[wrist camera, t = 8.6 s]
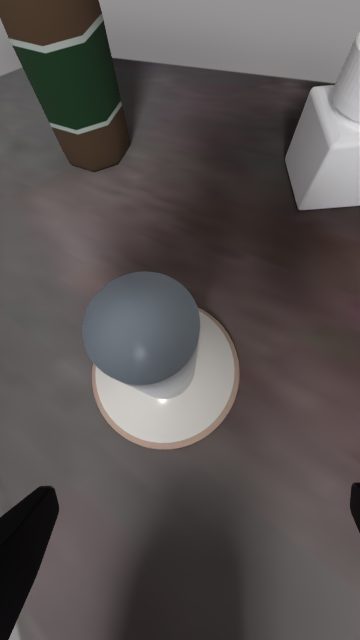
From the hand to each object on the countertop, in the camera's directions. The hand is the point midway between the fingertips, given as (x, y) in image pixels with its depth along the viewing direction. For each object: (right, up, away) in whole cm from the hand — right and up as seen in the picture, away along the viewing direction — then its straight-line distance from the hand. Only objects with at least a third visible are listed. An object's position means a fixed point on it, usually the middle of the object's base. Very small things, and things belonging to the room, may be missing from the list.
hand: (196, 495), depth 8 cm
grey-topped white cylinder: (-2, +1, +13) cm, 13 cm away
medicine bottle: (+15, +20, +20) cm, 32 cm away
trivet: (-2, +1, +14) cm, 14 cm away
